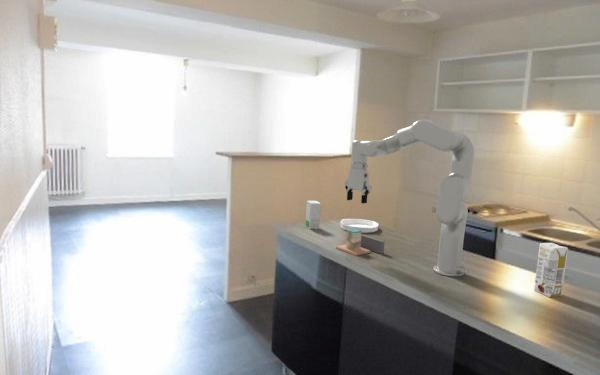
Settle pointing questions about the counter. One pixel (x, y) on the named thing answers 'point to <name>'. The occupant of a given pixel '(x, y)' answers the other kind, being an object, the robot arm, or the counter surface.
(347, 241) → the block
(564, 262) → the juice carton
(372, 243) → the board
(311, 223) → the skincare box
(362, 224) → the pan
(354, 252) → the terracotta tile
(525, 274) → the counter surface
